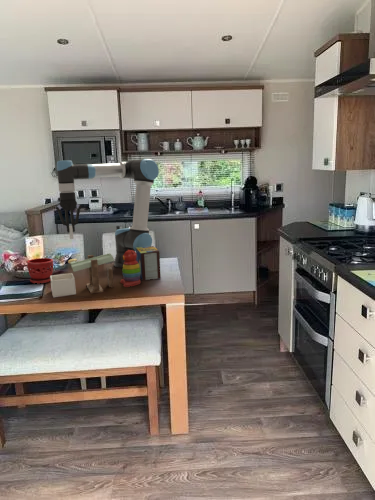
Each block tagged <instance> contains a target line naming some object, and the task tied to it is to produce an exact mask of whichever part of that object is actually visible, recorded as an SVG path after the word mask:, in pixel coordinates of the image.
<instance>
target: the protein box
mask: <svg viewBox="0 0 375 500" xmlns="http://www.w3.org/2000/svg"><path fill="white" fill-rule="evenodd" d="M135 252H136V254H137V258H136V261H137V262H138V263H139V266H140V271H141V273H140V280H141V279H142V280H145V281H151V280H150V279H153V280H159V279H158V278H162V277H161V276H162V275H161V258H160V257H161V255H160V253H161V252H160V250H159V249H158V248H156V247H155V246H154V245H151V246H148V247H136V251H135ZM142 280H141V281H142Z"/></svg>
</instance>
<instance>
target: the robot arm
mask: <svg viewBox="0 0 375 500" xmlns="http://www.w3.org/2000/svg"><path fill="white" fill-rule="evenodd" d="M159 171H160V170H159V166H158V164H157V163H156V161H154V160H153V159H151V158H139V159H131V160H125V161H118V162H117V163H93V164H92V163H83V164H81V163H80V164H78V163H77V164H74V163H73V161H72V160H70V159H69V160H68V159H67V160H65V159H64V160H57V162H56V172H57V173H56V174H57V181H58V191H59V203H58V205H57V206H55V208H54V209H55V210H56V211H57V212H58V215H59V218H60V221H61V224H62V225H63V226H65V227H66V232H67V233H68V235H69V239H70V240H72V239H74V232H75V231H76V229H75V226H76V225H78V224H79V218H80V212H81V209H82V207H83V206H82V204H78V201H77V200H76V192H75V191H76V190H75V189H76V187H75V180H91V179H99V178H101V179H102V178H120V179H129V180H133V183H134V184H135V194H134V204H133V215H132V217H133V218H132V226H130V227H126V228H119V229H116V230H115V231H114V233H115V234H114V238H115V239H114V240H115V258H114V261H113V266H114V267H115V268H120V269H121V268H122V269H123V264H124V262H125V261H124V260H123V258H122V257H123V255H124V253H125V252H126V251H128V250H133V251H135V252H136V247H148V246H153V238H152V235H150V229H149V228H148V221H149V212H150V211H149V209H150V200H151V199H150V198H151V188H152V186H153V185H154V184H155V183H154V182H155V180H156V179H157V178H158V176H159V173H160V172H159ZM75 208H76V215H74V210H75ZM61 209H63V211H64V216H65V219H64V216H63V214H62V210H61ZM69 213H70V219H69ZM74 216H75V217H74ZM70 222H71V223H70ZM70 224H71V225H70Z"/></svg>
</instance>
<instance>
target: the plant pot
mask: <svg viewBox="0 0 375 500" xmlns="http://www.w3.org/2000/svg"><path fill="white" fill-rule="evenodd" d="M26 266H27V271H28V274H29V276H30V278H29V281H30V283H32V284H35V283H37V284H36V285H38V284H39V285H40V283H41V284H46V283H49V282H51V280H50V276H52V275H53V272H54V259H52V258H47V257H40V258H39V257H38V258H33V259H32V258H31V259H29V260H27V262H26Z"/></svg>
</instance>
